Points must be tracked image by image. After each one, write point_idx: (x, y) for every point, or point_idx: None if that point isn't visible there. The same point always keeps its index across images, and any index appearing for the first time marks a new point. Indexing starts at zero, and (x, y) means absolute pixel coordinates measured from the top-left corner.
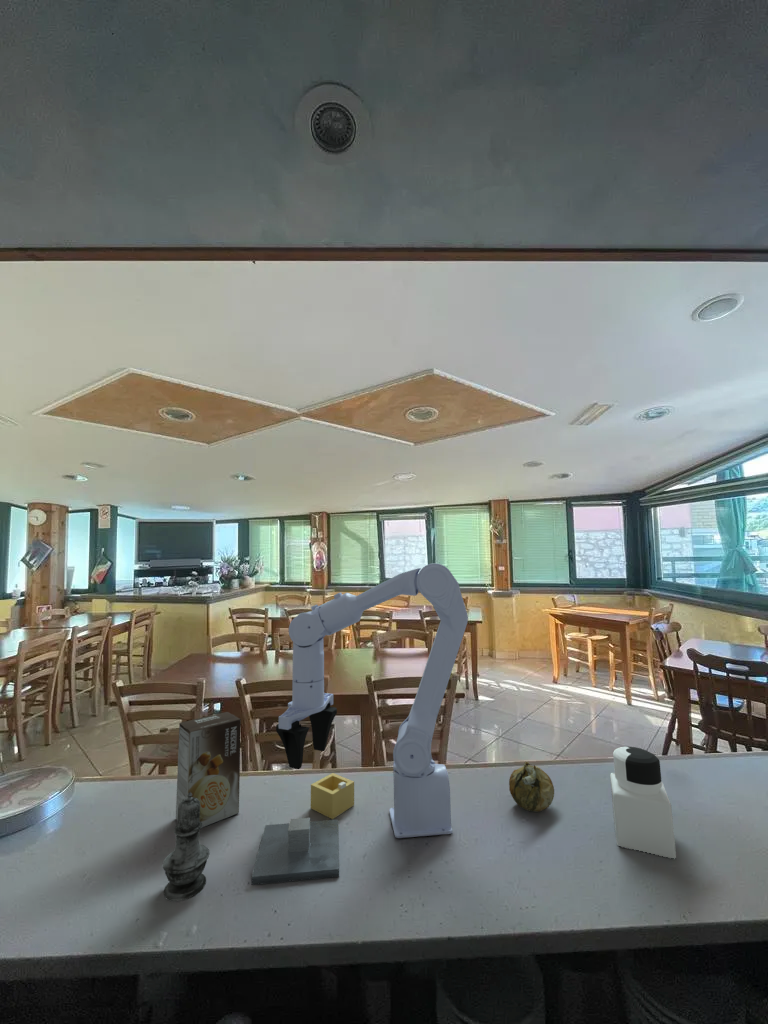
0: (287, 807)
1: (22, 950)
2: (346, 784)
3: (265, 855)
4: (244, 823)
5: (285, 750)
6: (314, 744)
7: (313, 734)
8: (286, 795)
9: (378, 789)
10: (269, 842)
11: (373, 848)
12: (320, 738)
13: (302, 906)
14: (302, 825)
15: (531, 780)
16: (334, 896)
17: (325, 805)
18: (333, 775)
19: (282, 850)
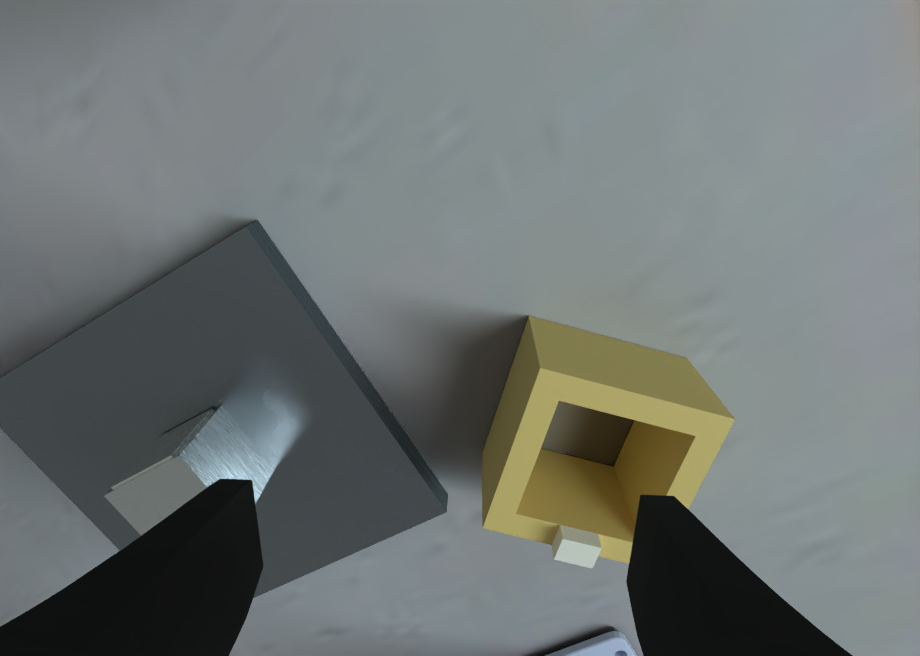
0: (493, 188)
1: None
2: (611, 547)
3: (85, 369)
4: (256, 48)
5: (85, 577)
6: (652, 534)
7: (701, 600)
8: (612, 95)
9: (799, 532)
10: (156, 331)
11: (380, 642)
12: (672, 652)
13: (45, 567)
14: None
15: None
16: None
17: (497, 438)
18: (699, 439)
19: (151, 412)
